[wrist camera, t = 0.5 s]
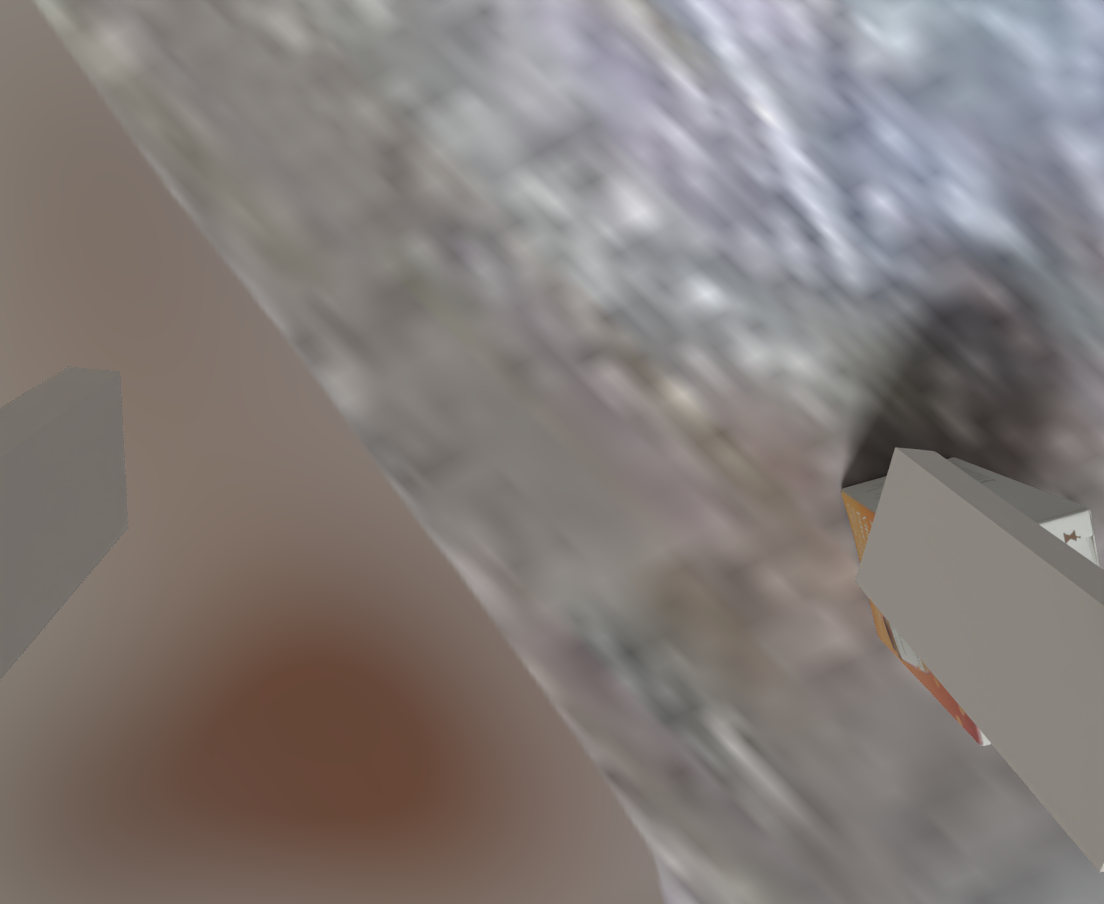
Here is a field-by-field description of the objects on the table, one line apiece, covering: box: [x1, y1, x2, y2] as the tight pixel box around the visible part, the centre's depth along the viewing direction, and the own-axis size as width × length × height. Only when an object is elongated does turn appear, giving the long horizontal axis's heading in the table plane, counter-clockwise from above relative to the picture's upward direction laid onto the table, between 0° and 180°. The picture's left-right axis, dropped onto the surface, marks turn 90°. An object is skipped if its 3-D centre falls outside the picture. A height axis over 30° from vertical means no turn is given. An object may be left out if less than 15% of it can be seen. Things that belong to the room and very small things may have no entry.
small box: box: [841, 457, 1099, 746], centre depth 35 cm, size 8×6×10 cm
